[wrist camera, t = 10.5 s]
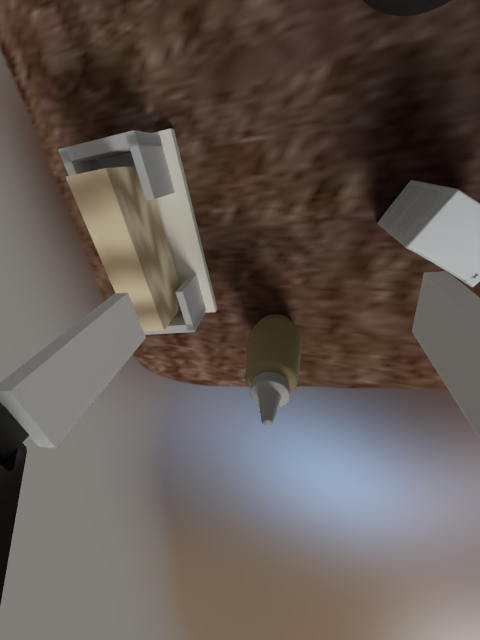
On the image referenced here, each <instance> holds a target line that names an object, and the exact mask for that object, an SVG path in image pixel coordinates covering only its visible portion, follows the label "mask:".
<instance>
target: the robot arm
mask: <svg viewBox="0 0 480 640" xmlns="http://www.w3.org/2000/svg"><path fill="white" fill-rule="evenodd" d="M363 1H364V2H365V3H367V4H368V5H369V6H371V7H373V8H374V9H376V10H378V11H380V12H383V13H386V14H390V15H396V16H410V15H416V14H421V13H425V12H428V11H431V10H433V9H436V8H438V7H440V6H442V5H444V4H446V3H447V2H449V1H451V0H363ZM412 333H413V334H414V336H415V337H416V339H417V341H418V342H419V344H420V345H421V347H422V348H423V350H424V352H425V353H426V355H427V356H428V358H429V360H430V361H431V363H432V364H433V366H434V368H435V369H436V371H437V372H438V374H439V375H440V377H441V379H442V380H443V382H444V383H445V385H446V387H447V388H448V390H449V391H450V393H451V394H452V396H453V398H454V399H455V401H456V402H457V404H458V406H459V407H460V409H461V410H462V412H463V413H464V415H465V417H466V418H467V420H468V421H469V423H470V425H471V426H472V428H473V429H474V431H475V432H476V434H477V436H478V437H479V439H480V298H479V297H478V296H477V295H476V294H474V293H473V292H472V291H471V290H469V289H468V288H467V287H466V286H464V285H463V284H462V283H461V282H459V281H458V280H457V279H456V278H454V277H453V276H452V275H451V274H450V273H448V272H447V271H442V272H428V273H424V275H423V280H422V285H421V290H420V295H419V299H418V304H417V309H416V314H415V319H414V324H413V329H412ZM145 338H146V337H145V334H144V332H143V329H142V327H141V324H140V322H139V319H138V317H137V314H136V312H135V309H134V307H133V304H132V302H131V299H130V297H129V294H128V293H115V294H114V295H112V296H111V297H110V298H108V299H107V300H106V301H105V302H103V303H102V304H101V305H99V306H98V307H97V308H96V309H94V310H93V311H92V312H90V313H89V314H88V315H87V316H85V317H84V318H83V319H81V320H80V321H79V322H78V323H76V324H75V325H74V326H72V327H71V328H70V329H69V330H67V331H66V332H65V333H63V334H62V335H61V336H60V337H58V338H57V339H56V340H54V341H53V342H52V343H51V344H49V345H48V346H47V347H46V348H44V349H43V350H42V351H40V352H39V353H38V354H36V355H35V356H34V357H33V358H31V359H30V360H29V361H27V362H26V363H25V364H24V365H22V366H21V367H20V368H18V369H17V370H16V371H15V372H13V373H12V374H11V375H9V376H8V377H7V378H6V379H4V380H3V381H2V382H0V604H1V598H2V592H3V586H4V580H5V574H6V569H7V563H8V557H9V552H10V546H11V540H12V534H13V528H14V523H15V516H16V511H17V505H18V499H19V493H20V488H21V482H22V476H23V471H24V465H25V459H26V453H27V450H26V446H25V445H24V444H23V443H22V442H23V441H24V440H25V439H26V438H27V437H28V436H30V437H31V439H32V440H33V441H34V442H35V443H36V444H37V446H39V447H49V448H56V447H57V446H58V445H59V444H60V443H61V441H62V440H63V439H64V437H65V436H66V435H67V434H68V433H69V431H70V430H71V429H72V428H73V426H74V425H75V424H76V423H77V422H78V420H79V419H80V418H81V417H82V415H83V414H84V413H85V412H86V411H87V409H88V408H89V407H90V406H91V404H92V403H93V402H94V401H95V400H96V398H97V397H98V396H99V395H100V393H101V392H102V391H103V390H104V388H105V387H106V386H107V385H108V384H109V382H110V381H111V380H112V379H113V377H114V376H115V375H116V374H117V373H118V371H119V370H120V369H121V367H122V366H123V365H124V364H125V363H126V362H127V360H128V359H129V358H130V357H131V355H132V354H133V353H134V352H135V350H136V349H137V348H138V347H139V346H140V344H141V343H142V342H143V341H144V339H145Z"/></svg>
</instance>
